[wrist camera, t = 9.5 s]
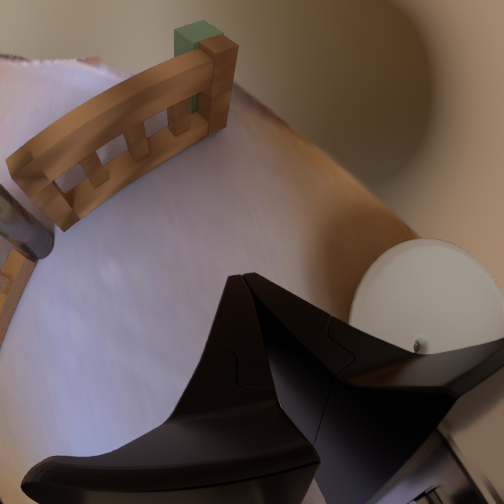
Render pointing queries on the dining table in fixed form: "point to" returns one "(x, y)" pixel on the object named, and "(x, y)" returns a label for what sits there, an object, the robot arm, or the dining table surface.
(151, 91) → the gate
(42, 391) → the dining table surface
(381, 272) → the dish
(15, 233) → the wooden fence panel
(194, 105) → the post
